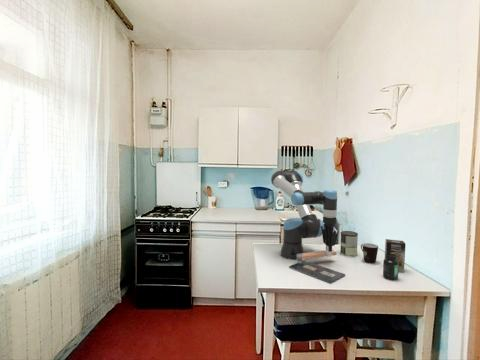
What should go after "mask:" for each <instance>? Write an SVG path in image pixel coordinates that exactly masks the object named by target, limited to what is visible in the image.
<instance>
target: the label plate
mask: <svg viewBox="0 0 480 360" xmlns="http://www.w3.org/2000/svg"><path fill="white" fill-rule="evenodd" d="M288 268H289V269H290V270H294V271H296V272H299V273H302V274H304V275H306V276H309V277H312V278H314V279H317V280H320V281H322V282H325V283H326V284H333V283H335V282H337V281H339V280H341V279H343V278H344V277H345V278H346V274H345V273H343V272H340V271H337V270H334V269H331V268H327V267H325V266H322V265H319V264H317V263H314V262H310V261H308V260H297V259H296V263H294V264H291V265H289V266H288Z"/></svg>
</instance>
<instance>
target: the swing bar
mask: <svg viewBox="0 0 480 360" xmlns="http://www.w3.org/2000/svg"><path fill="white" fill-rule="evenodd" d="M337 255H338V253H337V251H335V250H333V249H332V253H331V257H333V256H337ZM325 257H326V258H327V256H326V249H325V250H319V251H310V252H305V253H301V254H297V259H296V261H297V260H302V261H306V260H310V259H318V258H325Z"/></svg>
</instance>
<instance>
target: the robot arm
mask: <svg viewBox="0 0 480 360" xmlns="http://www.w3.org/2000/svg"><path fill="white" fill-rule="evenodd" d="M302 174H303V173H302V172H301V171H299V170H295V169H293V170H276V171H275V172H273V174H272V175H271V179H270V182H271V184H272V186H273V187H274V188H277V189H279V190H281V191H282V192H283V193H284V194H286V196H288V197H289V198H290V201H291V204H293V205H294V206H295V207H296V210H297V212H298V216H299V217H292V218H291V217H290V218H287V219H285V220H284V221H283V227H282V228H283V243H282V245H281V249H280V256H281V255H282V256H284V257H286V258H285V259H288V258H290V259H289V260H297V254H301V253H306V252H305V250H304V246H303V239H312V238H313V239H314V238H320V237H322V242H323V244H324V245H325V250H326V258H330V257H332V256H331V253H332V250H333V247H334V246H336V243H337V237H338V234H339V232H340V231H339V230H337V229H336V224H337V211H338V209H337V207H338V191H337V190H334V189H324V190H323V191H319V190H317V191H316V190H315V191H304V190H303V188H302V186H303V183H304V179H303V178H304V176H303V175H302ZM310 205H322V207H323V208H322V219H321V218H318V217H317V215H316V214H315V213H313V210H312V209H311V207H310ZM282 256H281V257H282ZM284 257H283V258H284Z"/></svg>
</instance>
